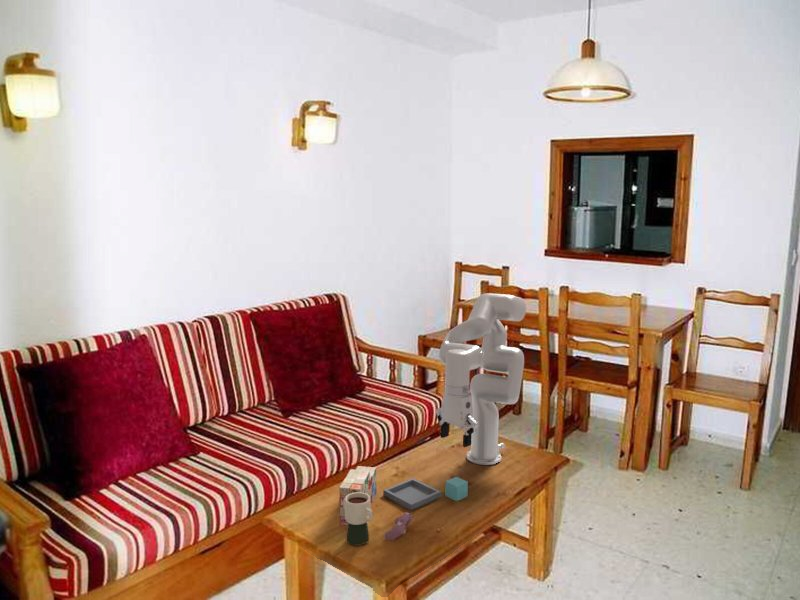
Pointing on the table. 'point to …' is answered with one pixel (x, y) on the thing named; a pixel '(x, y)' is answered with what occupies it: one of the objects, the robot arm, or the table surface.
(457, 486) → the cube
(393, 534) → the purple elongated lump
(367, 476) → the stack of blocks
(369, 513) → the character mug
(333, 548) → the table surface
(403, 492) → the tray
